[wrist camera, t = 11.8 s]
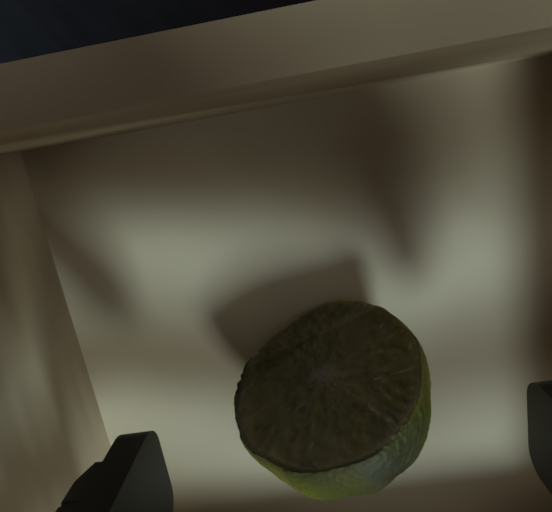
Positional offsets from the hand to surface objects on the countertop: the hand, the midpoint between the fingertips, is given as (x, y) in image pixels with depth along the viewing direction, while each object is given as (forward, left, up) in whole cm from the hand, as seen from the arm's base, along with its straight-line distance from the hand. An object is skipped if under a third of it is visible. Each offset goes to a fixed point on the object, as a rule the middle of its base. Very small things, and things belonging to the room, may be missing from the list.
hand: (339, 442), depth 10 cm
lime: (0, 0, -5) cm, 5 cm away
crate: (0, 0, -5) cm, 5 cm away
